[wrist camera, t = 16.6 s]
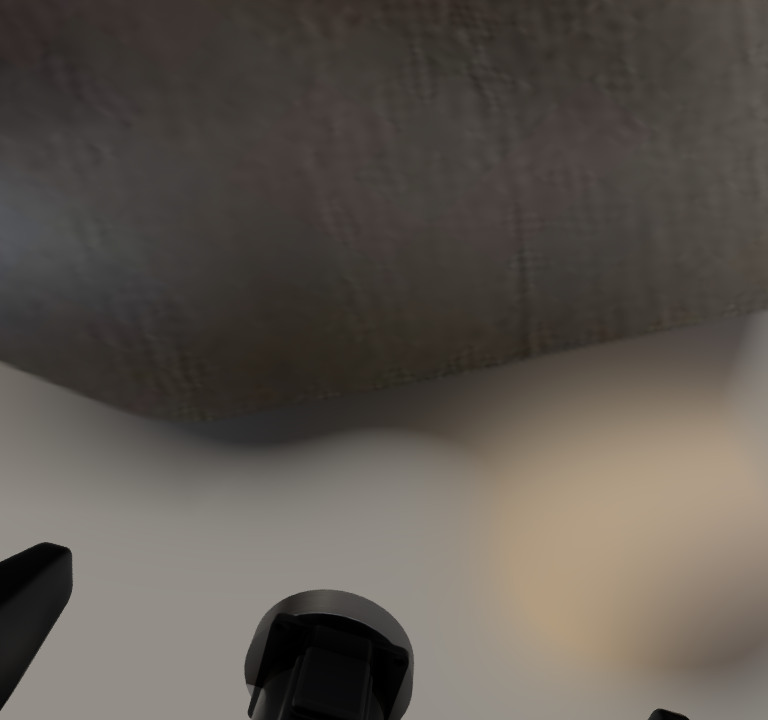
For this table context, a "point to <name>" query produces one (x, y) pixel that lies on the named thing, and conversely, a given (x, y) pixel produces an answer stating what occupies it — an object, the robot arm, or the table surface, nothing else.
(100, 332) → the table surface
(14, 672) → the robot arm
